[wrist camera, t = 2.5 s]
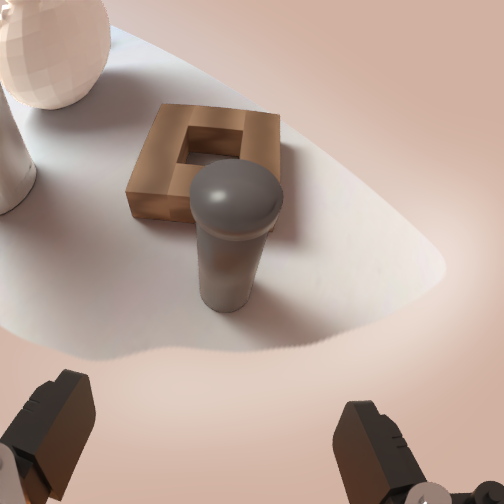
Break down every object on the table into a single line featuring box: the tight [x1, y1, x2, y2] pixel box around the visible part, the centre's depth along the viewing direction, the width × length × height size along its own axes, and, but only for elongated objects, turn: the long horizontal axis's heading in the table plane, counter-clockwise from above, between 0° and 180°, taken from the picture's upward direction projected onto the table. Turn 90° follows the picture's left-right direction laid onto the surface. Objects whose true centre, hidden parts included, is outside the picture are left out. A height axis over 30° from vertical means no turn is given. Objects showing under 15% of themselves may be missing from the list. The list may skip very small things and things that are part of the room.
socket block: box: [125, 104, 280, 232], centre depth 33 cm, size 14×14×4 cm
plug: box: [190, 159, 283, 313], centre depth 23 cm, size 5×5×13 cm
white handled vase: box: [0, 0, 111, 110], centre depth 30 cm, size 19×18×25 cm
